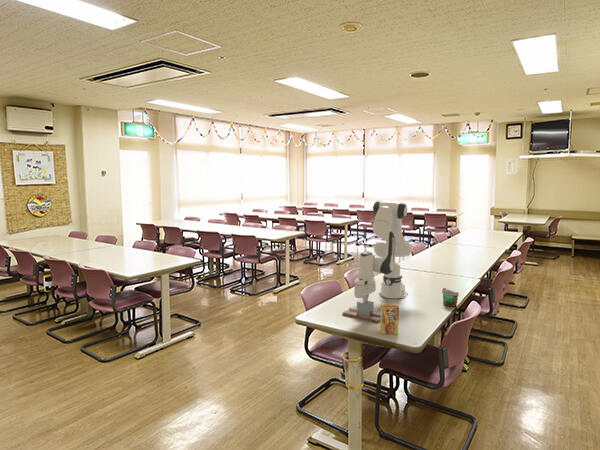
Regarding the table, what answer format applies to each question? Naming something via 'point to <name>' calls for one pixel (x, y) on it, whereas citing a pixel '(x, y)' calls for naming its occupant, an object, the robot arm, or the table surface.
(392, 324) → the candy box
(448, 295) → the food container
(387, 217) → the robot arm
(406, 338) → the table surface
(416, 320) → the table surface
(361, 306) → the block
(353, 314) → the rail board
